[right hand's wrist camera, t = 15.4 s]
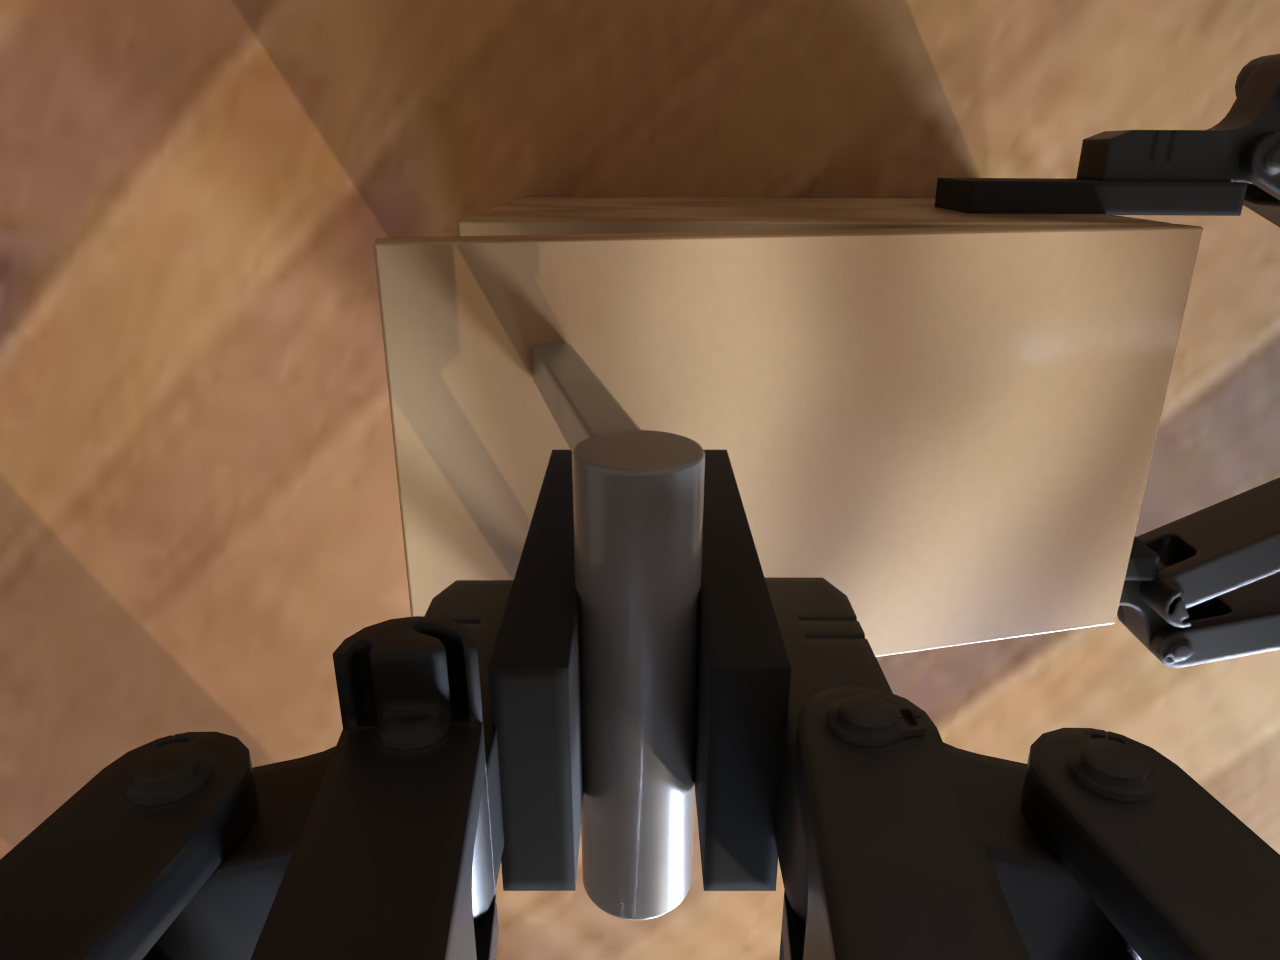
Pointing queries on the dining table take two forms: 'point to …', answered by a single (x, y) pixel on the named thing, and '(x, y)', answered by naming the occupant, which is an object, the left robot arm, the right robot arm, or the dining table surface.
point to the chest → (742, 215)
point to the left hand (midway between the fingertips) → (929, 383)
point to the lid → (776, 449)
